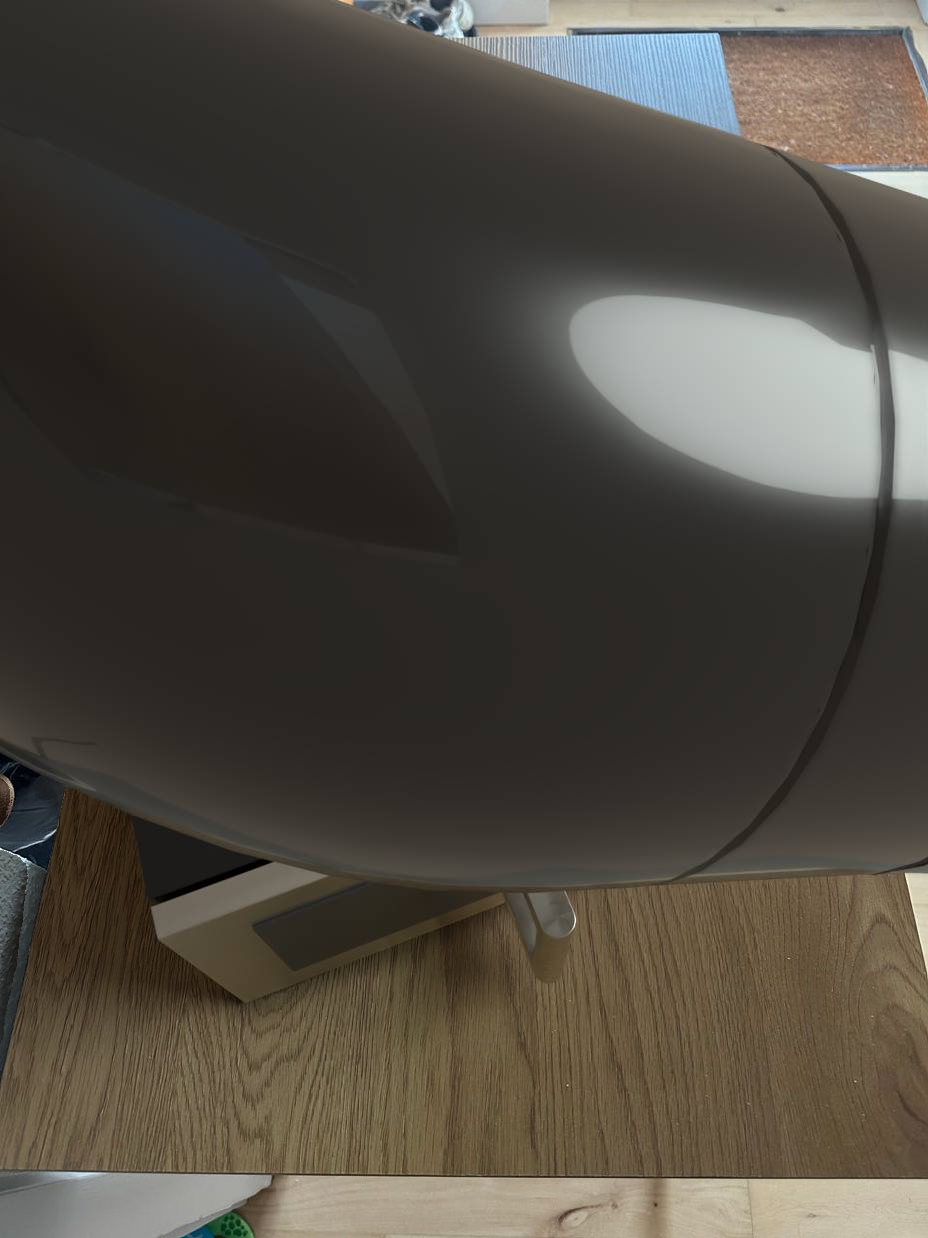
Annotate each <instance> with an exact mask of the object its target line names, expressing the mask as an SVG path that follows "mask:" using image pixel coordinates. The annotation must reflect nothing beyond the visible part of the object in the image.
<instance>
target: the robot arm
mask: <svg viewBox="0 0 928 1238" xmlns="http://www.w3.org/2000/svg"><path fill="white" fill-rule="evenodd" d="M0 754H2V755H4V756H6V757H8V758H10V759H12V761H13V760H14V761H15V762H17V763H19V764H21V765H22V766H24V767H26V768H28V769H30V770H32V771H33V772H35V773H38V774H40V775H42V776H44V777H47V778H49V779H51V780H53V781H55V782H58V783H60V784H62V785H64V786H67V787H69V788H71V789H73V790H76V791H78V792H79V793H82V794H83V795H86V796H89V797H91V798H93V799H96V800H98V801H100V802H101V803H104V804H106V805H109V806H111V807H113V808H116V809H117V810H120V811H122V812H124V813H127V814H129V815H130V814H131V815H133V816H136V817H139V818H142V819H145V820H147V821H150V822H153V823H156V824H158V825H161V826H164V827H167V828H170V829H172V830H175V831H178V832H181V833H183V834H186V835H189V836H192V837H195V838H197V839H200V840H203V841H206V842H209V843H211V844H214V845H217V846H220V847H222V848H225V849H228V850H231V851H235V852H239V853H242V854H246V855H250V856H254V857H258V858H262V859H266V860H270V861H274V862H277V863H281V864H285V865H289V866H293V867H297V868H301V869H305V870H309V871H312V872H316V873H320V874H324V875H328V876H334V877H340V878H347V879H354V880H361V881H368V882H375V883H381V884H388V885H395V886H402V887H409V888H416V889H423V890H431V891H465V892H499V893H543V892H562V891H566V892H577V891H580V892H581V891H596V890H614V889H615V890H616V889H632V888H642V887H652V886H674V885H675V886H676V885H692V884H693V885H694V884H695V885H696V884H710V883H711V884H712V883H728V882H729V883H730V882H731V883H733V882H751V881H769V880H790V879H807V878H809V879H810V878H827V877H829V878H830V877H845V876H846V877H848V876H864V875H865V876H868V875H869V876H884V875H899V874H902V875H903V874H917V875H918V874H920V875H921V874H922V875H924V874H927V875H928V198H927V197H923V196H921V195H918V194H914V193H912V192H909V191H906V190H902V189H899V188H896V187H893V186H891V185H887V184H885V183H881V182H879V181H875V180H872V179H869V178H867V177H863V176H860V175H857V174H855V173H851V172H848V171H845V170H842V169H840V168H836V167H833V166H830V165H827V164H823V163H821V162H817V161H814V160H811V159H809V158H807V157H806V158H805V157H802V156H799V155H796V154H794V153H790V152H787V151H784V150H781V149H778V148H775V147H772V146H769V145H766V144H761V143H758V142H755V141H753V140H750V139H748V138H745V137H743V136H741V135H738V134H735V133H732V132H728V131H726V130H723V129H719V128H716V127H713V126H711V125H707V124H705V123H700V122H697V121H694V120H691V119H689V118H685V117H683V116H679V115H675V114H673V113H669V112H668V111H663V110H660V109H658V108H654V107H651V106H648V105H645V104H642V103H639V102H636V101H632V100H630V99H626V98H622V97H619V96H617V95H614V94H610V93H608V92H605V91H602V90H598V89H595V88H592V87H588V86H586V85H582V84H580V83H576V82H573V81H570V80H567V79H564V78H560V77H557V76H555V75H551V74H548V73H545V72H542V71H539V70H536V69H534V68H532V67H529V66H525V65H522V64H520V63H517V62H515V61H511V60H509V59H506V58H503V57H500V56H497V55H495V54H491V53H489V52H486V51H483V50H480V49H477V48H475V47H472V46H469V45H466V44H463V43H461V42H458V41H454V40H452V39H449V38H447V37H443V36H442V35H441V36H440V35H438V34H435V33H432V32H429V31H427V30H423V29H421V28H419V27H416V26H412V25H410V24H407V23H404V22H401V21H398V20H396V19H393V18H390V17H387V16H384V15H381V14H378V13H376V12H373V11H370V10H368V9H364V8H362V7H359V6H357V5H353V4H350V3H348V2H344V1H342V0H0Z"/></svg>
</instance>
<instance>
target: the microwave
mask: <svg viewBox="0 0 928 1238" xmlns="http://www.w3.org/2000/svg"><path fill="white" fill-rule="evenodd" d="M129 815H130V819H131V824H132V830H133V834H134V839H135V843H136V850H137V854H138V858H139V863H140V868H141V873H142V878H143V882H144V886H145V891H146V896H147V897H146V898H147V901H149V902H150V903H151V904H153V906H154V905H157V904H160V903H162V902H165V901H168V900H171V899H173V898H176V897H179V896H181V895H184V894H187V893H190V892H192V891H195V890H198V889H201V888H203V887H206V886H209V885H211V884H214V883H217V882H220V881H222V880H225V879H228V878H230V877H233V876H236V875H239V874H241V873H244V872H247V871H250V870H252V869H255V868H258V867H260V866H263V865H266V864H269V863H271V862H274V861H270V860H266V859H262V858H258V857H254V856H250V855H246V854H242V853H239V852H235V851H231V850H228V849H225V848H222V847H220V846H217V845H214V844H211V843H209V842H206V841H203V840H200V839H197V838H195V837H192V836H189V835H186V834H183V833H181V832H178V831H175V830H172V829H170V828H167V827H164V826H161V825H158V824H156V823H153V822H150V821H147V820H145V819H142V818H139V817H136V816H133V815H131V814H129Z"/></svg>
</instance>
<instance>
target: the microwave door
mask: <svg viewBox="0 0 928 1238" xmlns="http://www.w3.org/2000/svg"><path fill="white" fill-rule="evenodd" d="M504 904H505V905H506V907H507V909H508V912H509V914H510V917H511V920H512V922H513V925H514V927H515V930H516V932H517V935H518V938H519V940H520V943H521V945H522V947H523V950H524V953H525V956H526V958H527V960H528V963H529V965H530V967H531V968H530V969H531V971H532V974H533V975H534V977H535V978H536V979H537V980H538V981H539V982H541V983H543V984H547V985H549V984H554V983H556V982H557V981H559V980H560V979H561V977H562V976H563V973H564V969H565V965H566V961H567V958H568V954H569V952H570V951H569V950H570V946H571V943H572V939H573V935H574V932H575V928H576V924H577V916H576V913H575V910H574V907H573V906H572V903H571V901H570V898H569V896H568V894H567V891H562V892H543V893H499V892H465V891H431V890H423V889H416V888H409V887H402V886H395V885H388V884H381V883H375V882H368V881H361V880H354V879H347V878H340V877H334V876H328V875H324V874H320V873H316V872H312V871H309V870H305V869H301V868H297V867H293V866H289V865H285V864H281V863H277V862H271V863H269V864H266V865H263V866H260V867H258V868H255V869H252V870H250V871H247V872H244V873H241V874H239V875H236V876H233V877H230V878H228V879H225V880H222V881H220V882H217V883H214V884H211V885H209V886H206V887H203V888H201V889H198V890H195V891H192V892H190V893H187V894H184V895H181V896H179V897H176V898H173V899H171V900H168V901H165V902H162V903H160V904H157V905H154V904H153V905H151V907H150V910H151V911H150V912H151V916H152V921H153V926H154V929H155V935H156V939H157V940H158V941H159V942H160V943H162V944H163V945H165V946H166V947H167V948H168V949H170V950H171V951H173V952H174V953H176V954H177V955H178V956H180V957H181V958H182V959H184V960H185V961H187V963H189V964H191V965H192V966H194V967H195V968H196V969H198V970H199V971H200V972H202V973H203V974H204V975H206V976H207V977H208V978H209V979H211V980H212V981H214V982H215V983H217V984H218V985H220V987H222V988H224V989H225V990H226V991H228V992H229V993H231V994H232V995H234V996H235V997H237V999H239V1000H240V1001H241V1002H242V1003H244V1004H248V1003H250V1002H253V1001H255V1000H258V999H260V998H263V997H265V996H269V995H271V994H273V993H276V992H278V991H281V990H283V989H286V988H289V987H291V986H294V985H296V984H299V983H302V982H304V981H307V980H310V979H312V978H314V977H317V976H320V975H323V974H325V973H328V972H330V971H333V970H335V969H338V968H340V967H341V968H342V967H343V966H346V965H348V964H350V963H354V962H356V961H359V960H361V959H365V958H366V957H369V956H372V955H375V954H376V953H379V952H382V951H384V950H387V949H390V948H393V947H396V946H398V945H400V944H402V943H406V942H408V941H410V940H413V939H415V938H418V937H421V936H424V935H426V934H429V933H431V932H434V931H437V930H439V929H442V928H444V927H446V926H449V925H451V924H455V923H456V922H460V921H462V920H465V919H467V918H469V917H472V916H474V915H478V914H481V913H483V912H485V911H488V910H490V909H493V908H496V907H498V906H501V905H504Z"/></svg>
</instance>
